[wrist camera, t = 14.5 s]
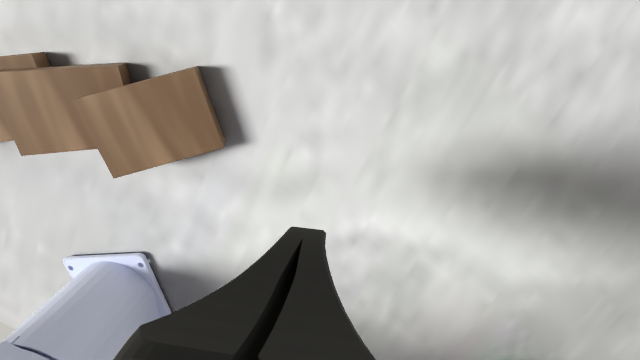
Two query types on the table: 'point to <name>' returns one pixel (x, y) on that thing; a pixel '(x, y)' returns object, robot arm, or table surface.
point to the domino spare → (152, 121)
